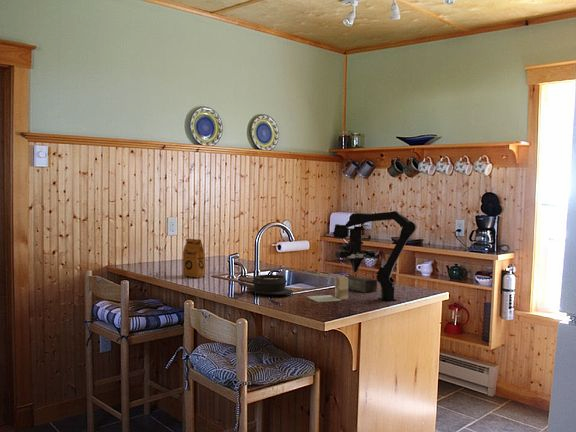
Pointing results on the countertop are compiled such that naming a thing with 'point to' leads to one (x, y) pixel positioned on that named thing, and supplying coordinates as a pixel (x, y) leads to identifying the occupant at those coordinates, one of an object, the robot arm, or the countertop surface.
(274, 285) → the casserole
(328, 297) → the mat
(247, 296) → the countertop surface
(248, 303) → the countertop surface
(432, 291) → the countertop surface
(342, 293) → the beige bevelled block
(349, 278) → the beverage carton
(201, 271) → the coffee package
